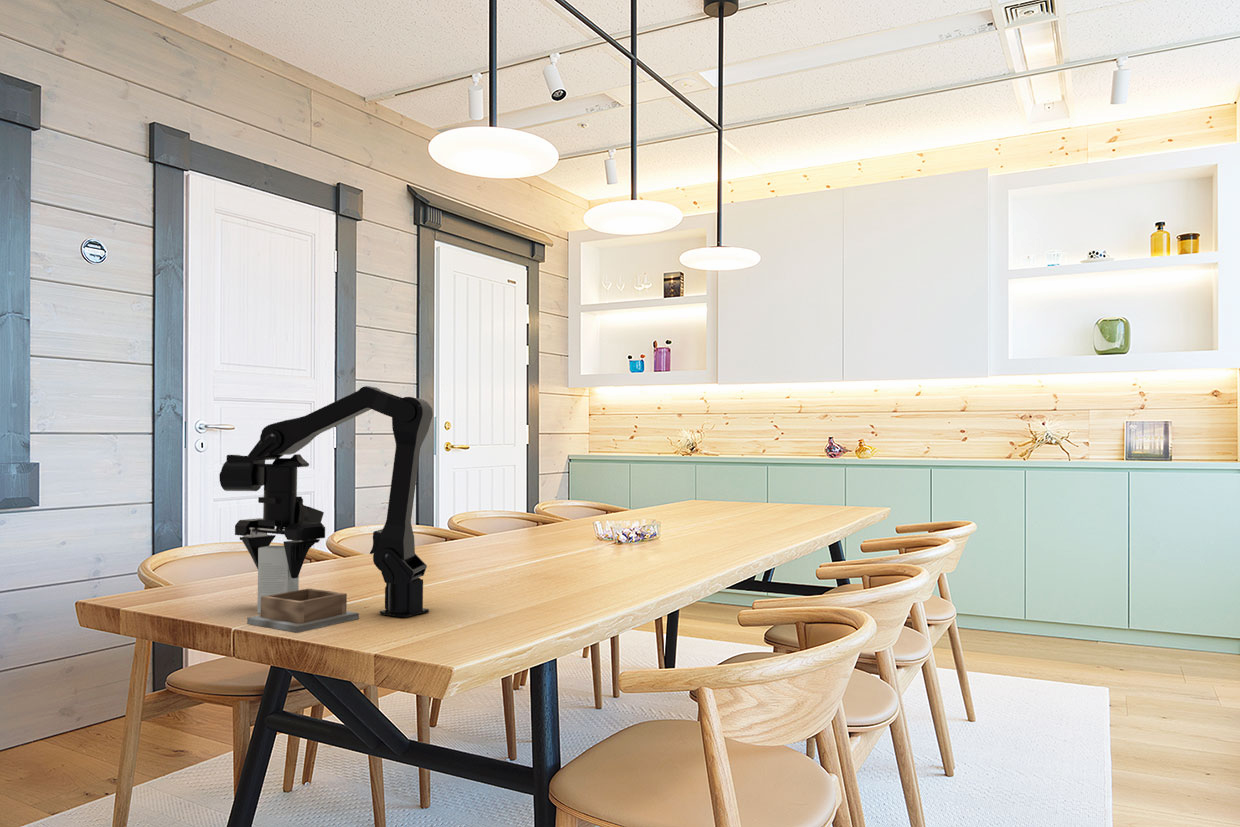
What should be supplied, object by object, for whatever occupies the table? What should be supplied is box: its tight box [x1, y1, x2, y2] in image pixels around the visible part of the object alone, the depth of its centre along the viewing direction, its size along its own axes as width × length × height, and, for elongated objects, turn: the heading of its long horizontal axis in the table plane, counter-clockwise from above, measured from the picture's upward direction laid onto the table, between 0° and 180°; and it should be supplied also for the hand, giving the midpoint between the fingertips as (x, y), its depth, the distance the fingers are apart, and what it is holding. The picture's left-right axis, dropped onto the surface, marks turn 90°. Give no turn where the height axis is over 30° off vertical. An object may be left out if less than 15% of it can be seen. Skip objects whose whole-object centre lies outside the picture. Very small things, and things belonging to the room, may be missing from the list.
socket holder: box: [246, 588, 360, 633], centre depth 145 cm, size 13×13×4 cm
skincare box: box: [256, 545, 300, 614], centre depth 154 cm, size 6×4×12 cm
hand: (278, 576), depth 154 cm, fingers open, 9 cm apart
